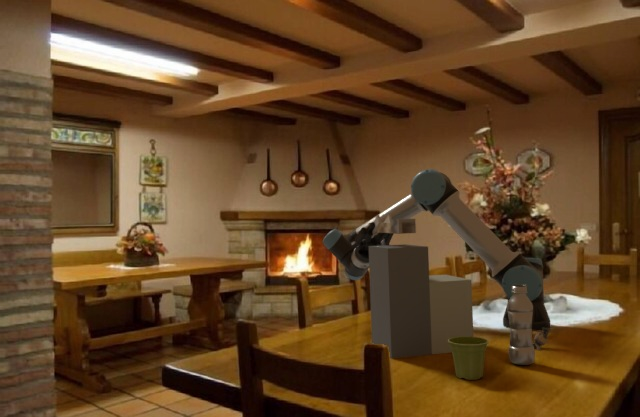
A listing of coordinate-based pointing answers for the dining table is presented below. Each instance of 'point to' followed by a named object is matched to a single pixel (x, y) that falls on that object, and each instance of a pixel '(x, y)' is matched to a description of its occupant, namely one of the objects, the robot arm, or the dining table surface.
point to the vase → (541, 338)
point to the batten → (398, 226)
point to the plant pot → (468, 356)
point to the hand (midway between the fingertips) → (384, 218)
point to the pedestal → (415, 302)
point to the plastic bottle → (520, 327)
